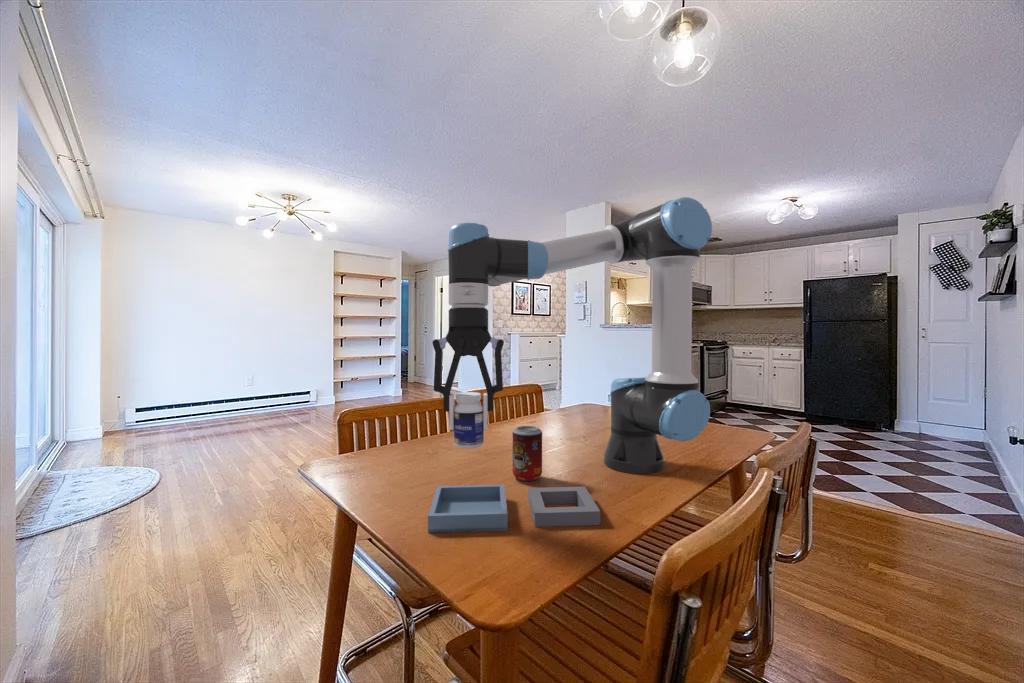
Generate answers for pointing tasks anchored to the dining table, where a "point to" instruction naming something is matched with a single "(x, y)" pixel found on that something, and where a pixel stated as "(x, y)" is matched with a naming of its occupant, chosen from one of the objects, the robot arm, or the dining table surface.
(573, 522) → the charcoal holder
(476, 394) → the pill bottle
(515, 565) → the dining table surface
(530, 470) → the soda can
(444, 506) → the parts tray
